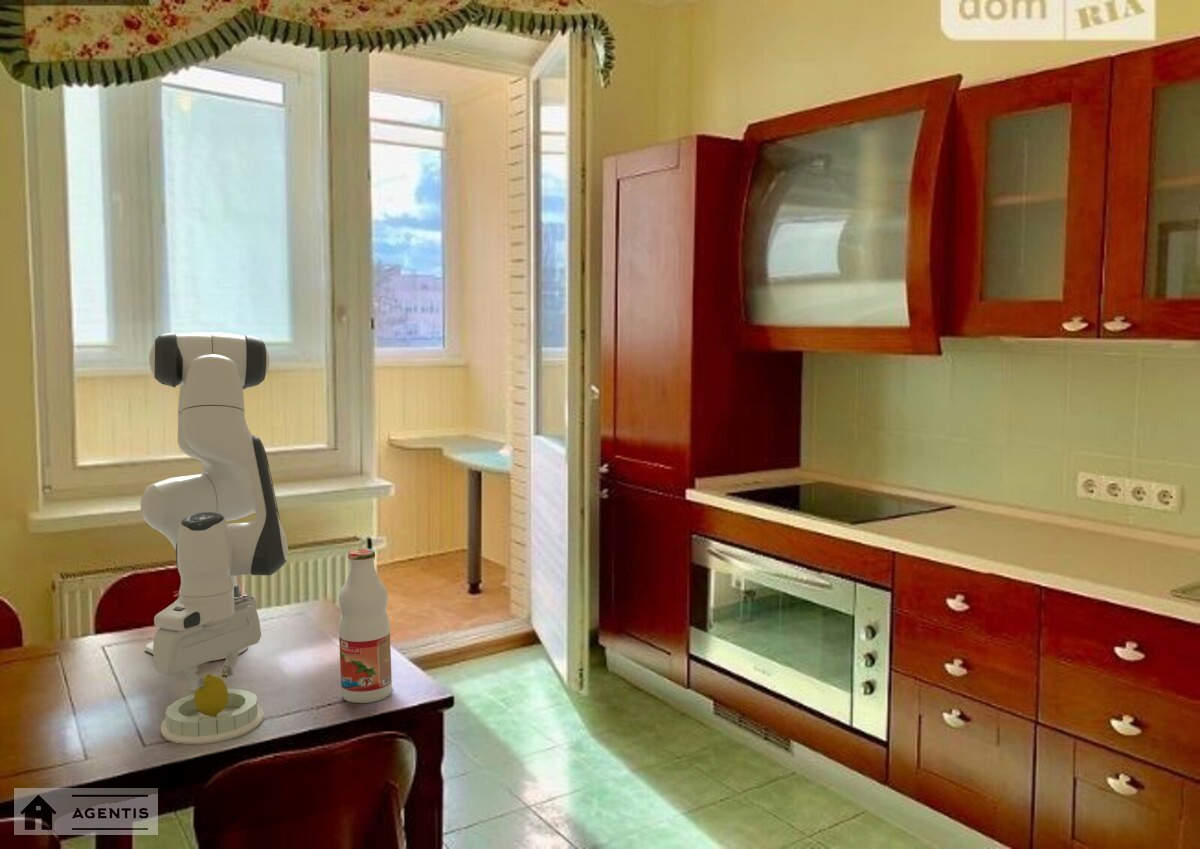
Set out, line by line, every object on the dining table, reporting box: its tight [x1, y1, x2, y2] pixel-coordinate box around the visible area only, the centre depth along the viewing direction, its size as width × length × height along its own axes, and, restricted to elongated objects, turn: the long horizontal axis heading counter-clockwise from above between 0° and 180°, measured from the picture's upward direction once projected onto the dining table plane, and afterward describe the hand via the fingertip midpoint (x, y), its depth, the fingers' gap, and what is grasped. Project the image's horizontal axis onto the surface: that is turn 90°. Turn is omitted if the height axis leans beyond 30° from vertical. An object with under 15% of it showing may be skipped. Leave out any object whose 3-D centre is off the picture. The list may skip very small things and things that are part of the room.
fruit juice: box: [338, 548, 393, 704], centre depth 184 cm, size 9×9×28 cm
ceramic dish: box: [160, 688, 265, 745], centre depth 172 cm, size 17×17×4 cm
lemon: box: [193, 673, 228, 717], centre depth 172 cm, size 6×6×8 cm
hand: (212, 682), depth 172 cm, fingers open, 5 cm apart
